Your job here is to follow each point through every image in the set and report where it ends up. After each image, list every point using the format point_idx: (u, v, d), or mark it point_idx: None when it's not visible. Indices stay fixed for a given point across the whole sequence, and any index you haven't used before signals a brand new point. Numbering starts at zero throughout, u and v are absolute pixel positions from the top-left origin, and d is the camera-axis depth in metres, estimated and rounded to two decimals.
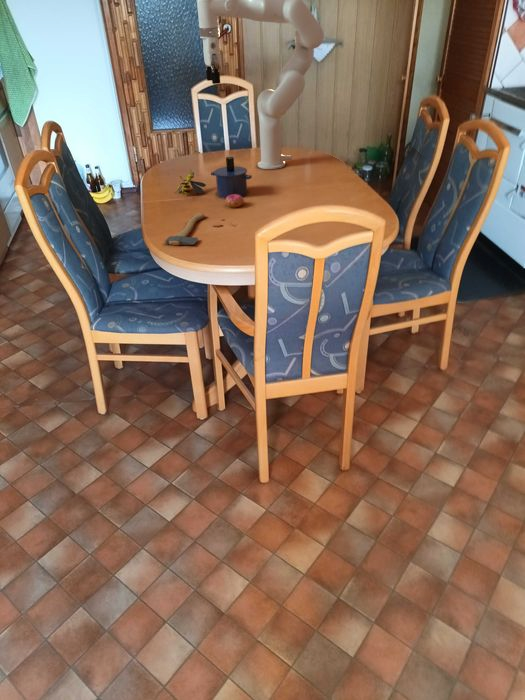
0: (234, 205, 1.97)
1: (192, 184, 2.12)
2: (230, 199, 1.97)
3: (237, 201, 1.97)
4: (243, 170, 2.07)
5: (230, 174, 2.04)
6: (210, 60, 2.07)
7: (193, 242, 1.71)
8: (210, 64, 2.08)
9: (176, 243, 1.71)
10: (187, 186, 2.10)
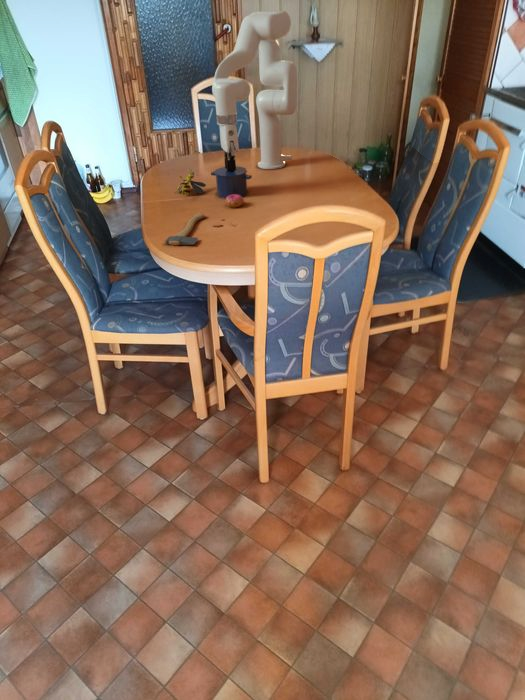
0: (234, 205, 1.97)
1: (192, 184, 2.12)
2: (230, 199, 1.97)
3: (237, 201, 1.97)
4: (243, 170, 2.07)
5: (230, 174, 2.04)
6: (228, 147, 1.98)
7: (193, 242, 1.71)
8: (227, 151, 1.98)
9: (176, 243, 1.71)
10: (187, 186, 2.10)
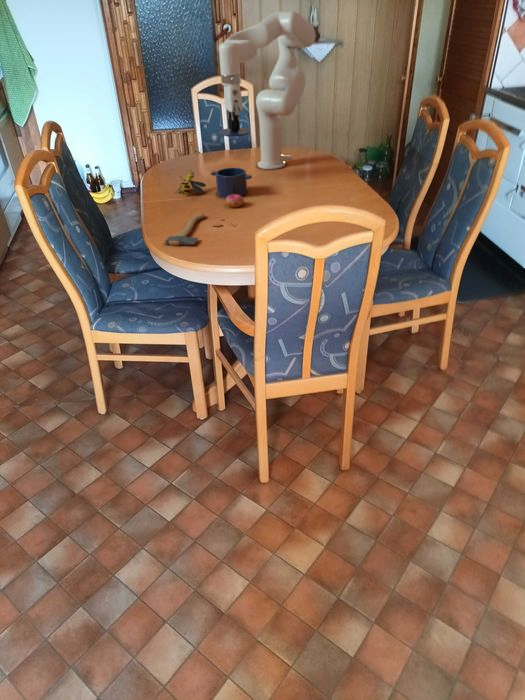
0: (234, 205, 1.97)
1: (192, 184, 2.12)
2: (230, 199, 1.97)
3: (237, 201, 1.97)
4: (246, 130, 2.14)
5: (234, 134, 2.11)
6: (232, 106, 2.05)
7: (193, 242, 1.71)
8: (232, 110, 2.06)
9: (176, 243, 1.71)
10: (187, 186, 2.10)
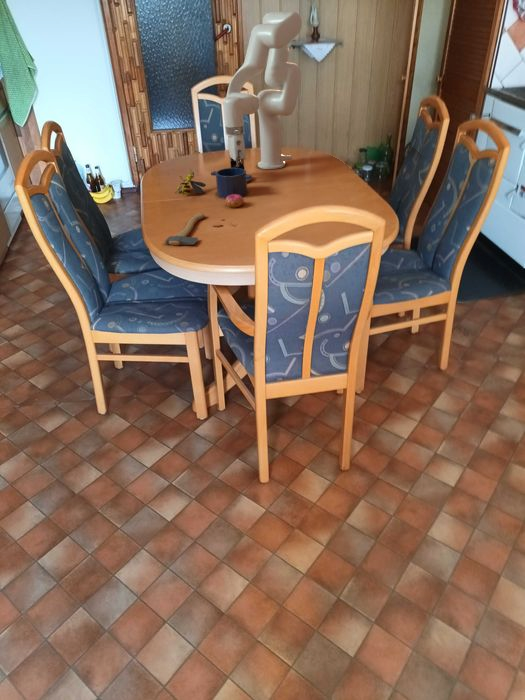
0: (234, 205, 1.97)
1: (192, 184, 2.12)
2: (230, 199, 1.97)
3: (237, 201, 1.97)
4: None
5: None
6: (235, 156, 2.16)
7: (193, 242, 1.71)
8: (235, 159, 2.17)
9: (176, 243, 1.71)
10: (187, 186, 2.10)
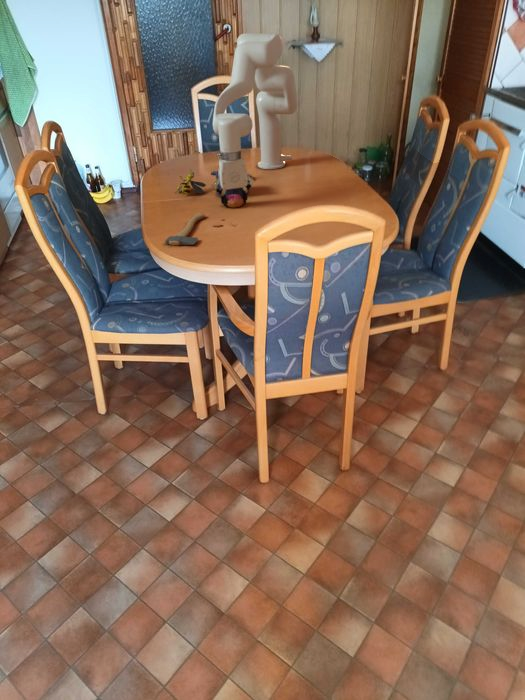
0: (234, 205, 1.97)
1: (192, 184, 2.12)
2: (230, 199, 1.97)
3: (237, 201, 1.97)
4: None
5: None
6: None
7: (193, 242, 1.71)
8: (219, 184, 1.97)
9: (176, 243, 1.71)
10: (187, 186, 2.10)
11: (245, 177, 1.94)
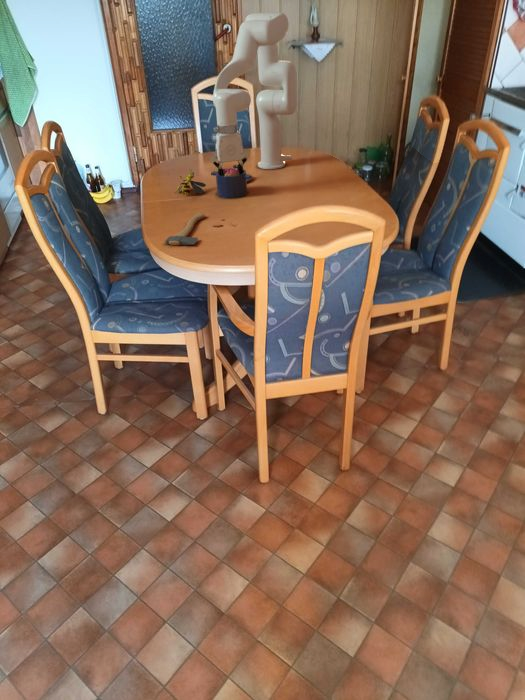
0: None
1: (192, 184, 2.12)
2: (227, 172, 2.06)
3: (233, 174, 2.05)
4: None
5: None
6: None
7: (193, 242, 1.71)
8: (216, 157, 2.05)
9: (176, 243, 1.71)
10: (187, 186, 2.10)
11: (241, 150, 2.02)
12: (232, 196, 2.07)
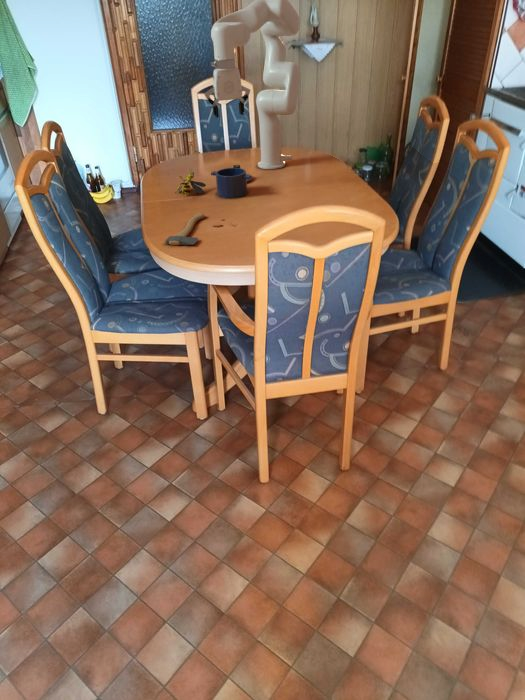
0: None
1: (192, 184, 2.12)
2: None
3: None
4: None
5: None
6: None
7: (193, 242, 1.71)
8: (214, 96, 1.97)
9: (176, 243, 1.71)
10: (187, 186, 2.10)
11: (240, 88, 1.94)
12: (232, 196, 2.07)
